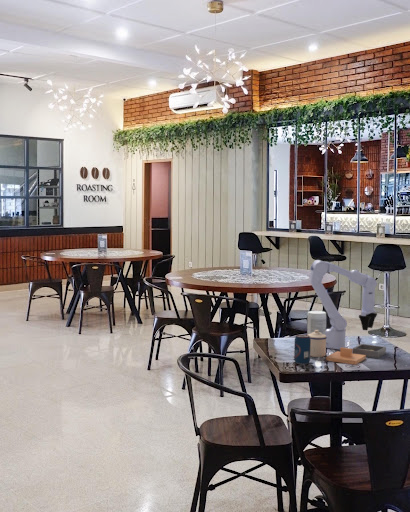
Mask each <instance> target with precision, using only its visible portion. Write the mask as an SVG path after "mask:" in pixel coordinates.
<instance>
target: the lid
mask: <svg viewBox="0 0 410 512" xmlns="http://www.w3.org/2000/svg"><path fill="white" fill-rule="evenodd" d="M325 357H326V361H329V362H335V363H341V364H349V365H356V366H357V364H360V363H361V362H362V361H364V360H366V355H361V354H353V348H349V347H347V348H343V347H341V348H340V350H337V351H335V352H332V353H331V354H329V355H326V356H325Z"/></svg>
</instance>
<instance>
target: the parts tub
mask: <svg viewBox="0 0 410 512" xmlns="http://www.w3.org/2000/svg"><path fill="white" fill-rule="evenodd" d="M352 353H353V354H361V355H366V357H367V358H372V359H373V358H374V359H379V358H381V357H382V356H384V355H385V354H387V346H381V345H372V344H365V343H360V344H358V345H356V346H354V347H352ZM366 357H365V358H366Z"/></svg>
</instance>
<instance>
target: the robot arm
mask: <svg viewBox="0 0 410 512" xmlns="http://www.w3.org/2000/svg"><path fill="white" fill-rule="evenodd" d="M311 263H312V264H311V265H310V268H309V270H310V271H309V272H310V275H309V276H310V277H309V282H310V284H311V287H312V288H313V290H314V292H315V293H316V295H317V297H318V300H319V301H320V303H321V304H322V306H323V308H324V310H325V312H326V314H327V316H328V317H329V323H330V325H331V326H330V328H326V332H325V335H326V337H327V338H326V348H327V349H333V350H338V351H340V348H341V347H343V348H349V346H347V345H346V328H347V326H348V323H347V320H346V319H345V318H344V317H343V316H342V315H341V313H340V312H339V311H338V309H337V307H336V305H335V304H334V302H333V300H332V298H331V296H330V295H329V293H328V291H327V288H326V287H325V286H324V283H323V282H322V281H323V279H324V276H325V275H326V274H327V273H333V272H334V273H336V274H339V275H341V276H344V277H347V278H348V281H350V282H352V283H354V284H357V285H359V286H362V302H361V303H362V304H361V305H362V306H361V312H360V313H361V314H358V319H359V321H360V323H361V328H362V331H368V329H369V328H370V329H373V327H374V323H375V320H376V317H377V316H378V313H377V310H376V309H375V299H376V298H375V297H376V287H377V286H378V283H377V280H376V279H375V277H372V276H370V275H369V274H368V273H362V272H360V270H358V269H352V270H348V269H346V268H344V267H341V266H340V265H336V264H335V263H332V262H329V261H325V260H324V261H323V260H321V259H316V260H314V261H313V262H311Z"/></svg>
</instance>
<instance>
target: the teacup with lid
mask: <svg viewBox="0 0 410 512" xmlns="http://www.w3.org/2000/svg"><path fill="white" fill-rule="evenodd" d="M308 335H309V337H310V340H311V348H310V357H311V358H312V357H313V358H322V357H326V356H327V355H326V353H327V349H326V338H327V337H326V335H324V334H322V333H320V332H319V330H315V332H313V333H311V334H308Z"/></svg>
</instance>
